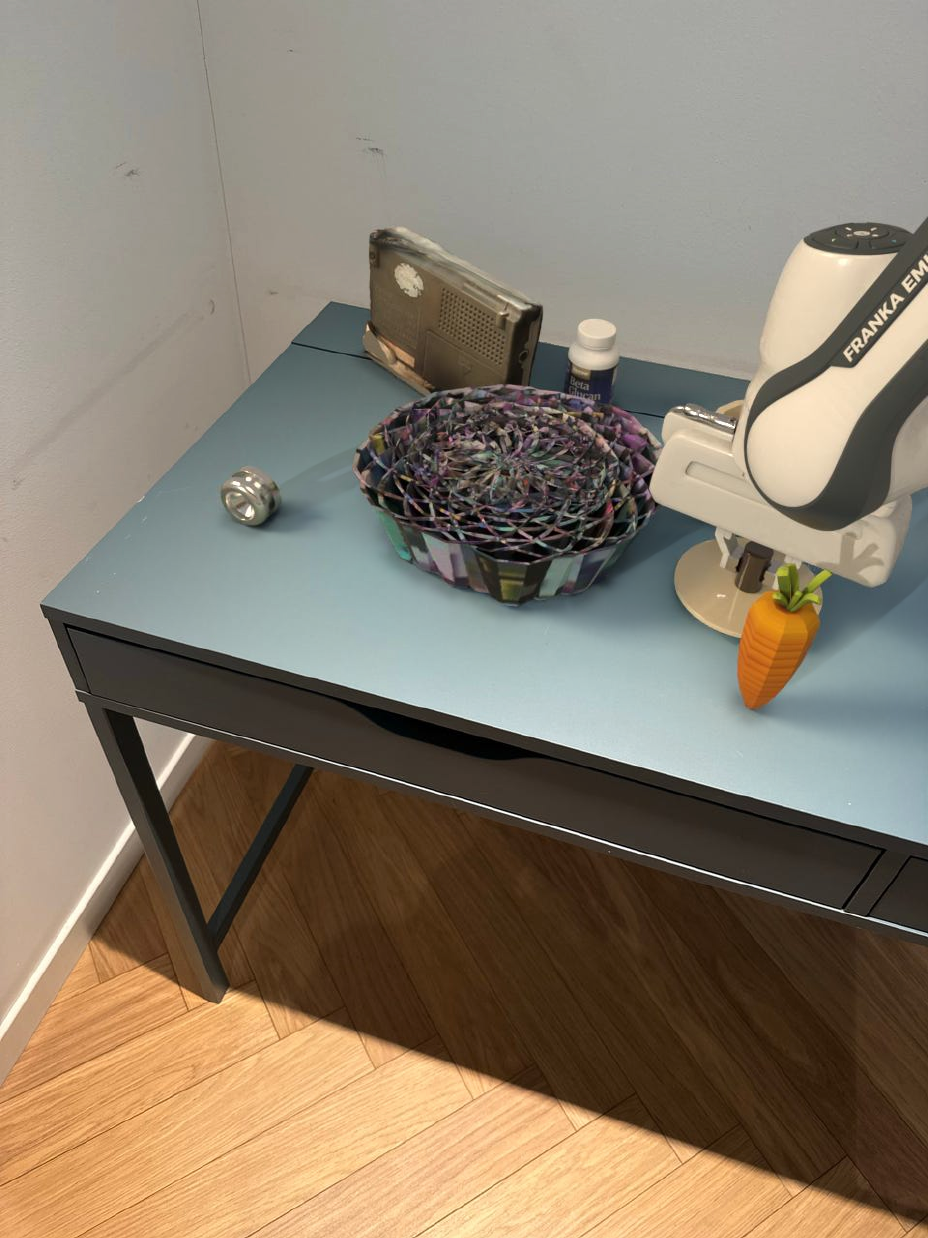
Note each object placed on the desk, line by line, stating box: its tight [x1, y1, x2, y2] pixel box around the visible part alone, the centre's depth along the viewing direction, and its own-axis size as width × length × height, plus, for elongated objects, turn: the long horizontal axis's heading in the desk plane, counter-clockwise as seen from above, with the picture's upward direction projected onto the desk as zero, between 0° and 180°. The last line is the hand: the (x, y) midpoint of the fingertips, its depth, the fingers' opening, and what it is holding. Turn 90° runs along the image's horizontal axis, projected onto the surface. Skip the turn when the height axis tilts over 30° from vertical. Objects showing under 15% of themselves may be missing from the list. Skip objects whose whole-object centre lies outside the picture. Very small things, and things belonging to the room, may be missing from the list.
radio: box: [362, 225, 544, 397], centre depth 103 cm, size 23×9×15 cm, turn 38°
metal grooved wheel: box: [219, 465, 282, 526], centre depth 89 cm, size 5×3×5 cm, turn 64°
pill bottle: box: [563, 318, 620, 406], centre depth 102 cm, size 5×5×10 cm
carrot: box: [736, 563, 834, 710], centre depth 71 cm, size 5×5×15 cm
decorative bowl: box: [351, 384, 663, 608], centre depth 87 cm, size 26×28×10 cm
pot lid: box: [673, 536, 824, 639], centre depth 82 cm, size 13×13×5 cm
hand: (751, 575), depth 82 cm, fingers closed on pot lid, 2 cm apart
